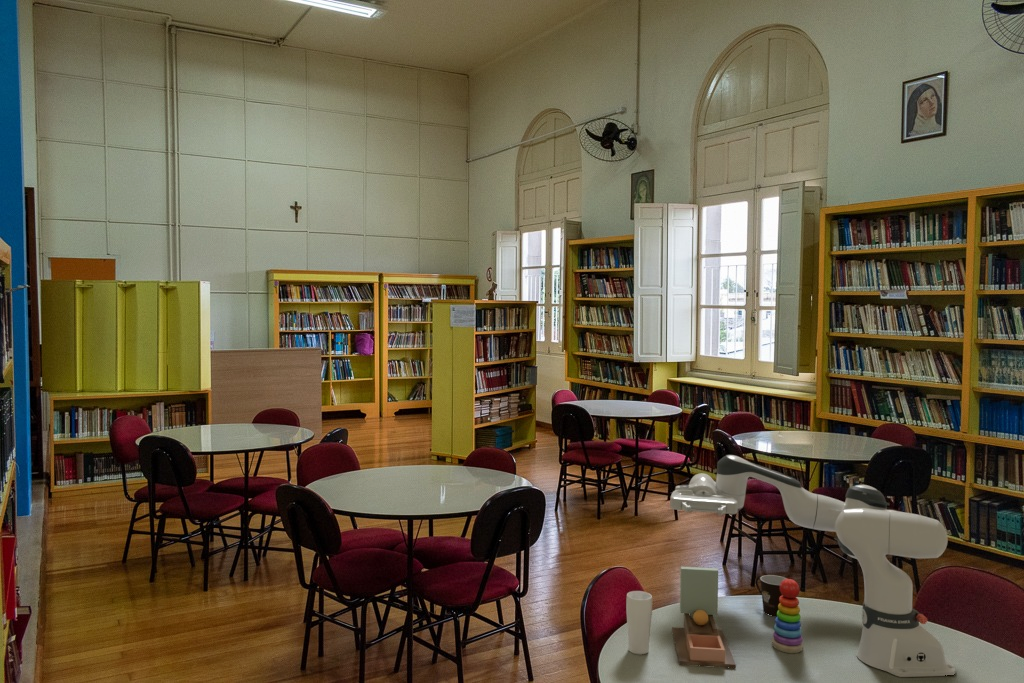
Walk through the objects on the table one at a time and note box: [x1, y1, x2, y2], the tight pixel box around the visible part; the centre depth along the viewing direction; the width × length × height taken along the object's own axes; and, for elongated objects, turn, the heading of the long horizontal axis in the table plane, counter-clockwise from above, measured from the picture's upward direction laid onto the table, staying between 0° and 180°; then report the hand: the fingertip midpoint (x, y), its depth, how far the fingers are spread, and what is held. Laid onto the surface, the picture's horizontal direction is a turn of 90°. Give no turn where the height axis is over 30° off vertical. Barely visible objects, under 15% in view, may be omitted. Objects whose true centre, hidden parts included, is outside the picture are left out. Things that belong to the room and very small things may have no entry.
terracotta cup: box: [686, 634, 725, 664], centre depth 191 cm, size 9×9×4 cm
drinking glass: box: [625, 590, 653, 656], centre depth 195 cm, size 7×7×15 cm
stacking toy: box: [771, 578, 804, 654], centre depth 198 cm, size 8×8×19 cm
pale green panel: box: [679, 566, 719, 618], centre depth 205 cm, size 10×2×14 cm, turn 83°
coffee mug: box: [755, 574, 788, 617], centre depth 224 cm, size 12×9×10 cm
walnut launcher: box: [671, 613, 737, 669], centre depth 197 cm, size 14×21×6 cm, turn 173°
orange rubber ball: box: [693, 610, 708, 625], centre depth 201 cm, size 4×4×4 cm
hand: (704, 511), depth 222 cm, fingers open, 8 cm apart
